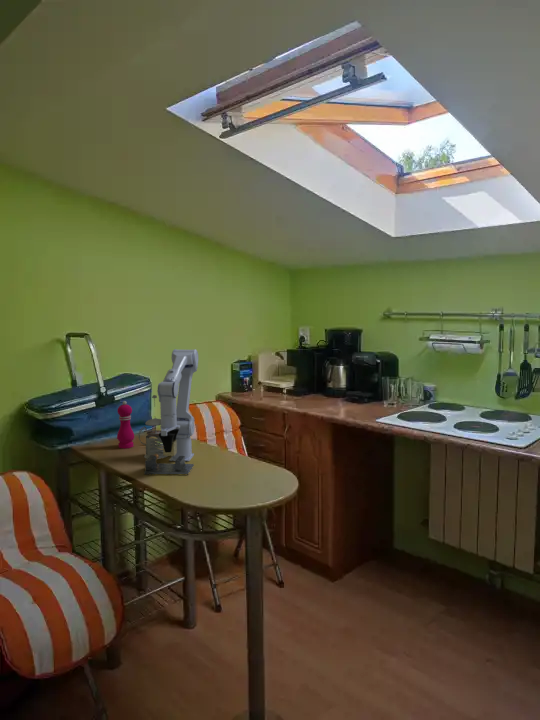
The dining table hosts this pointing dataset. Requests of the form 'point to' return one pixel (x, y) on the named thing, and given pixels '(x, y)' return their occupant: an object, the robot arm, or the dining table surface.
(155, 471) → the vise
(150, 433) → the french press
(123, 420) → the pepper mill
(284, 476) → the dining table surface
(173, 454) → the brass block
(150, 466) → the sliding jaw
